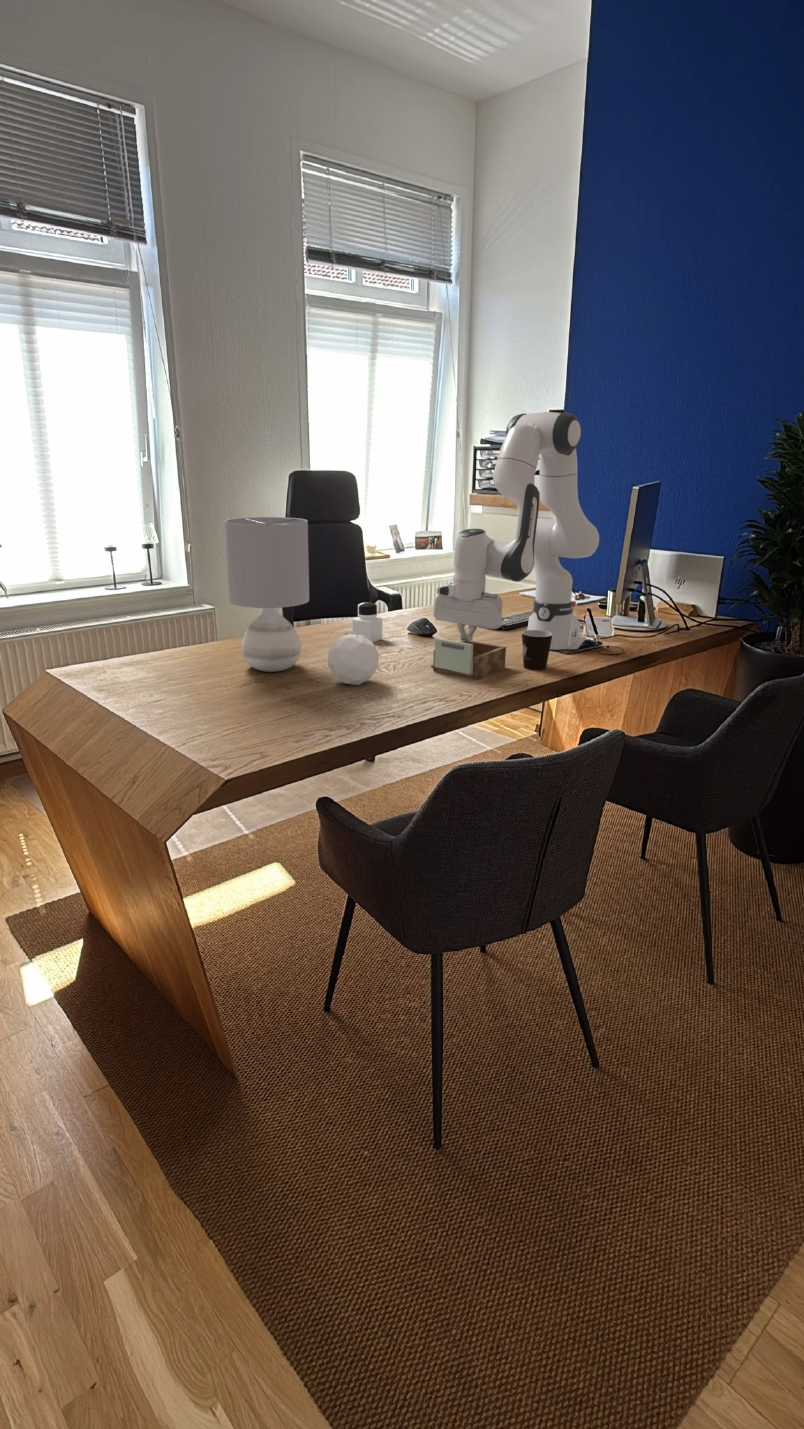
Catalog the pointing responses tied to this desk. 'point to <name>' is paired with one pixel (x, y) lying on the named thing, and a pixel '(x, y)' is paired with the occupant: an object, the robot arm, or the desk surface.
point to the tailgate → (453, 655)
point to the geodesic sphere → (353, 659)
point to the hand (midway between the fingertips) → (466, 640)
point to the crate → (480, 660)
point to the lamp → (268, 584)
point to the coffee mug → (536, 649)
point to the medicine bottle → (368, 622)
